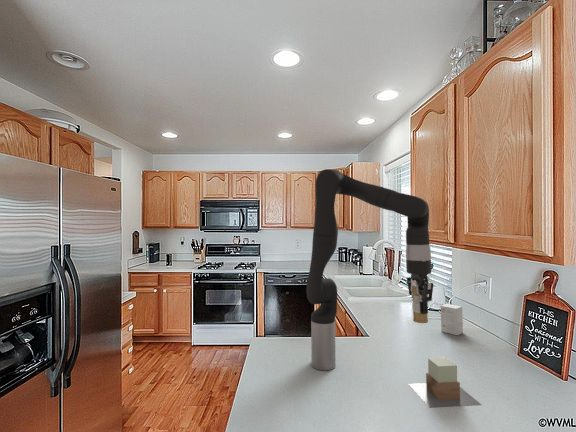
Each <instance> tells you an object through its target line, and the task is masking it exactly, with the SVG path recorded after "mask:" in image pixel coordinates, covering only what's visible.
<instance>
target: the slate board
mask: <svg viewBox="0 0 576 432" xmlns="http://www.w3.org/2000/svg"><path fill="white" fill-rule="evenodd" d="M408 386H409V387H410V388H411V389H412V390H413V391H414V392H415V394H416V395H418V397H419V398H420V399H421V400H422V401H423V402H424V403H425V405H426V406H427V407H428V408H430V409H434V408H451V407H452V408H453V407H466V406H468V407H470V406H471V407H472V406H481V405H482V403H481V402H479V401H478V400H477V399H475V398H474V397H473V396H471V394H469V393H468V392H467V391H466V390H464V389H463V388H462V387H461V386H460V399H454V400H437V399H436V398H435V397H434V396H433V395H432V394H431V393H430V392H429V391H428V390H427V389H426V382H425V383H422V382H421V383H408Z"/></svg>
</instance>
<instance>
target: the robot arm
mask: <svg viewBox="0 0 576 432" xmlns="http://www.w3.org/2000/svg"><path fill="white" fill-rule="evenodd" d="M336 195H344V196H349V197H352V198H356V199H359V200H361V201H362V202H365V203H367V204H369V205H371V206H373V207H374V206H375V207H377V208H380V209H382V210H386V211H390V212H391V211H392V212H395V214H399V215H401V216H405V217H407V228H406V231H405V243H406V244H405V245H406V248H405V259H406V260H405V266H406V273H407V274H410V276H407V277H406V282H407V290H408V294H409V296H411V298H412V299H413V291H412V280H414V281H415V285H416V290H417V294H418V295H419V299H420V313H421V314H427V315H428V313H429V307H428V305H429V304H428V303H429V302H431V301H433V300H432V299H433V292H434V283H433V282H429V278H428V275H429V274H431V273H432V253H431V247H430V233H429V223H430V222H429V221H430V219H429V218H430V207H429V203H428V202H427V201H426V200H425V199H423V198H421V197H420V196H415V195H411V194H407V193H404V192H398V191H396V190H394V189H390V188H387V187H384V186H380V185H377V184H372V183H367V182H365V181H360V180H358V179H355V178H352V177H350V176H349V175H346V174H344V173H342V172H341V171H339V170H337V169H331V168H330V169H329V168H328V169H322V170H321V171H319V173H318V174H317V176H316V179H315V211H314V222H313V223H314V224H313V230H312V231H313V232H312V233H313V234H312V246H311V248H312V249H311V258H310V266H309V272H308V276H307V277H308V278H307V283H306V298H307V300H308V302H309V303H310V304H311V305H319V306H318V307H317V308H316V309H315V310H313V311H312V312H311V314H310V316H311V317H310V321H311V322H310V324H311V325H310V327H311V328H310V329H311V332H310V334H311V335H310V336H311V341H310V342H311V346H310V347H311V367H312V368H313V369H315V370H318V369H319V370H318V371H330V370H333V369H334V368H336V316H337V312H338V287H337V284H336V282H335V281H334V279H332V278H329V277H328V278H327V277H326V278H325V277H324V273H325V268H326V267H327V265H328V263H329V262H330V260H331V258H332V257H333V255H334V254H335V252H336V249H337V246H338V235H339V228H338V221H337V218H336V212H335V203H336V198H337V197H336ZM323 277H324V278H323ZM420 290H423V292H421V291H420ZM422 294H423V297H422Z"/></svg>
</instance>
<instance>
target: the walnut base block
mask: <svg viewBox="0 0 576 432" xmlns="http://www.w3.org/2000/svg"><path fill="white" fill-rule="evenodd" d="M425 376H426V377H425V379H426V380H425V381H426V382H425V383H426V389H427V390H428V391H429V392H430V393H431V394H432V395H433V396H434V397H435V398H436V399H437V400H454V399H460V387H461V385H460V384H461V382H460V381H458V380H457V382H445V383H438V382H437V381H436V380H435V379H434V378H433V377H431V376H430V375H429V374H428V372H427V373H425Z"/></svg>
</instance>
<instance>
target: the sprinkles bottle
mask: <svg viewBox="0 0 576 432" xmlns="http://www.w3.org/2000/svg"><path fill="white" fill-rule="evenodd" d="M412 291H413V298H412V313H413V314H412V315H413V316H412V317H413V319H412V320H413V323H418V324H428V323H429V320H428V317H429V316H428V314H421V313H420V299H419V295H418V294H417V290H416V285H415V281H414V280H412ZM420 291H421V292H423V290H420ZM422 297H423V294H422Z"/></svg>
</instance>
